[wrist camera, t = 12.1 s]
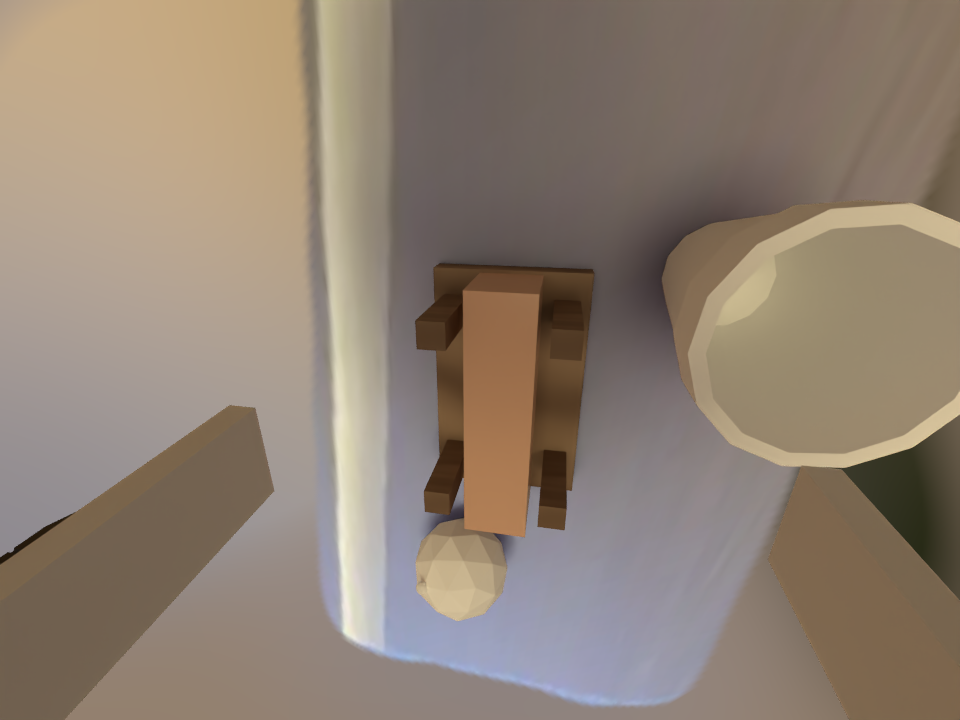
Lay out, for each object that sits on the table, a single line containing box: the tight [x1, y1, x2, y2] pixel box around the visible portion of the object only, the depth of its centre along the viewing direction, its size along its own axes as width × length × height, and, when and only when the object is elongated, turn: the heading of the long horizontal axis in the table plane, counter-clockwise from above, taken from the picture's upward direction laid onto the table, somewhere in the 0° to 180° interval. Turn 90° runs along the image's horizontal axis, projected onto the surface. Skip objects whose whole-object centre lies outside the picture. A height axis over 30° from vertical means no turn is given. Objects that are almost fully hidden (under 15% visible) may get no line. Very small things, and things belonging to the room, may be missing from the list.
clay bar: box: [463, 273, 544, 537], centre depth 28 cm, size 16×4×5 cm, turn 179°
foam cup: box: [661, 200, 960, 468], centre depth 21 cm, size 10×9×13 cm
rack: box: [415, 263, 594, 530], centre depth 28 cm, size 16×10×8 cm, turn 179°
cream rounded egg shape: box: [416, 518, 507, 621], centre depth 34 cm, size 7×7×8 cm
